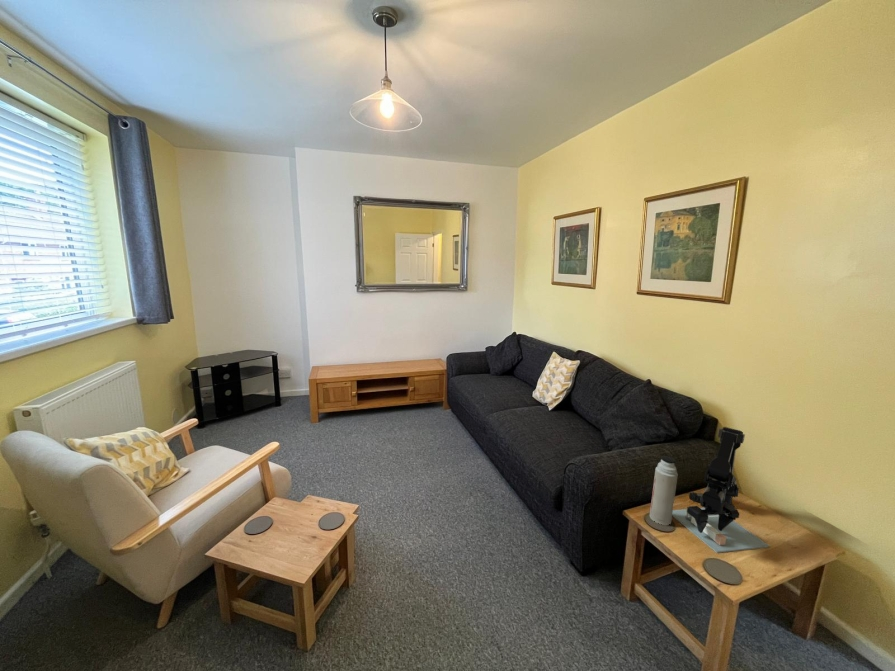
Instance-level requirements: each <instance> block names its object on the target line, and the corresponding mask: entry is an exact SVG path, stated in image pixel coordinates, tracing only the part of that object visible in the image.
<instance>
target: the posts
mask: <svg viewBox="0 0 895 671" xmlns="http://www.w3.org/2000/svg"><path fill="white" fill-rule="evenodd" d="M685 519H687V520H689V521H691V519H692V516H691V515H690V514H688V513H687V510H686V515H685Z"/></svg>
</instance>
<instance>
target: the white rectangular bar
mask: <svg viewBox="0 0 895 671" xmlns="http://www.w3.org/2000/svg"><path fill="white" fill-rule="evenodd" d="M691 522H692V523H693V524H694V525H695V526H697V524H696V521H695V518H694V517H692V519H691ZM703 532H704V533H705V534H707V535H708V536H709V537H710V538H712V539H713V540H714V541H715V542H716V543H718V544H719V545H725V542H726V537H725V536H724V535H723V534H721V533H720V532H718V531H717V530H716V529H715V528H713V527H712V526H711V525H709V524H708V523H707V525H706V526H705V528H704V530H703Z"/></svg>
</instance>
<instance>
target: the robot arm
mask: <svg viewBox="0 0 895 671" xmlns="http://www.w3.org/2000/svg"><path fill="white" fill-rule="evenodd" d="M745 436H746V435H745V434H744V432H743V431H742V430H740V429H735V428H732V427H731V428H730V427H727V426H723V427H722V428H719V429H718V434H717V437H718V438H719V439H720V440H719V443H720V444H719V446H718V450H717V453H716V457H715V458H713V459H711V460H710V463H709V464H707V467H706V469H705V470H706V471H705V474H704V479H703V483H706V484H707V486H706V488H705V489H704V491H703V493H702V492H694V491H692V492H691V491H690V492H689V494H688V499H689V500H690V501H691V502H693V503H697V504H699V505H700V506H701V507H699V506H698V505H692V506H690V505H689V506H687V508H686V509H687V513H688V514H690V515H691V516H692V517H694V518H695V521H696V524H697V527H698V531H699V532H700V533H702V532H703V530H704V528H705V526H706V525H707V523H708V521H707V520H708V516H710V515H719V521H718V530H720V531H722V530H723V529H724V528H725V527H726V526H727V525H728V524H730V523H731V522H732V521H736V519H739V518H740V512H739V510H738V509H737V508H734V507H735V506H734V504H732V503H733V499H734V498H737V497H739V492H740V491H739V486H738V484H737V478H736V477H735V475H734V467H735V461H736V460H735V459H736V452H737V450H738V449H739V448H741V445H742V444H744V441H745ZM701 508H705V510H702V509H701Z"/></svg>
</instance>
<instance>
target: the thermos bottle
mask: <svg viewBox="0 0 895 671" xmlns="http://www.w3.org/2000/svg"><path fill="white" fill-rule="evenodd" d="M675 463H676V460H675V458H673V457H672V456H671V457H670V456H666V455H662V456H661V459H660V461H659V462H658V463H657V466H656V467H655V470H654V479H653V484H652V485H653V487H652V493H651V494H652V495H651V502H650V509H649V518H650V520H651V521H653V522H654V521H655V522H654V523H656V524H658V523H659V524H658V525H661V524H662V526H670V525H671V524H672V520H673V519H672V518H673V516H672V512H673V510H674V504H675V497H676V490H677V482H678V475H679V474H678V472H677V467H676V465H675ZM669 524H670V525H669Z"/></svg>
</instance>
